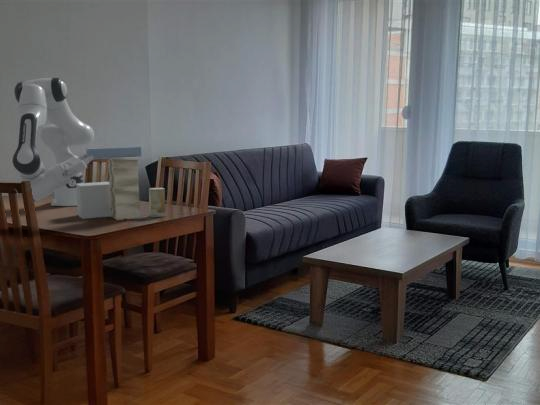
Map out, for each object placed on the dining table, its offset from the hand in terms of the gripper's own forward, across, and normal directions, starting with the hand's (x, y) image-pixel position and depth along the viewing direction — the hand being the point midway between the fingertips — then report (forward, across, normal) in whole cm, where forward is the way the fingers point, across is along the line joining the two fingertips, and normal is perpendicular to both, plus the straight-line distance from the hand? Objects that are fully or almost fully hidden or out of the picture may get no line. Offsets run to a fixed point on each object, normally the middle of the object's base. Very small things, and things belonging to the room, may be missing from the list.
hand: (90, 155), depth 256 cm
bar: (+8, 0, +6) cm, 10 cm away
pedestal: (-2, 0, +30) cm, 30 cm away
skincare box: (+9, -4, +37) cm, 38 cm away
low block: (-11, +11, +25) cm, 29 cm away
